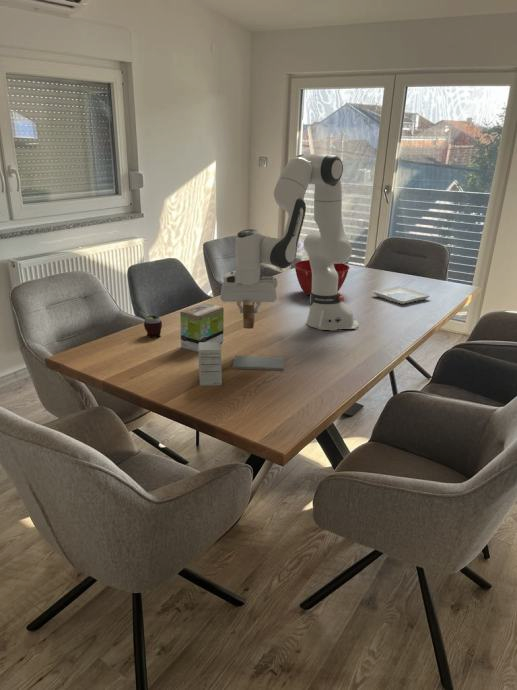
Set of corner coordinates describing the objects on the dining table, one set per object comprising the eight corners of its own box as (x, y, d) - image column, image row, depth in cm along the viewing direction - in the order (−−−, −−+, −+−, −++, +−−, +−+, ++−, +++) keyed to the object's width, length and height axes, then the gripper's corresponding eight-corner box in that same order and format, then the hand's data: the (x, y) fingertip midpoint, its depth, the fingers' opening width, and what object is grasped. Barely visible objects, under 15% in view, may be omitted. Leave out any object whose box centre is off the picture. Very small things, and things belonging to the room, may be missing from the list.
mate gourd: (141, 337, 214) (139, 301, 208) (152, 331, 220) (149, 296, 215) (157, 340, 211) (155, 304, 206) (167, 334, 218) (166, 298, 212)
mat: (284, 359, 194) (284, 357, 194) (283, 370, 185) (283, 368, 184) (235, 357, 195) (235, 355, 195) (232, 368, 186) (232, 366, 185)
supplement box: (199, 376, 179) (198, 341, 174) (221, 376, 180) (221, 341, 175) (199, 386, 172) (198, 349, 168) (222, 385, 173) (221, 349, 168)
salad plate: (430, 301, 270) (431, 294, 268) (402, 307, 258) (403, 300, 257) (398, 291, 286) (399, 285, 285) (370, 297, 274) (371, 290, 273)
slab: (254, 321, 200) (254, 295, 197) (253, 328, 193) (252, 302, 189) (245, 321, 201) (244, 295, 197) (243, 328, 193) (242, 302, 190)
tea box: (201, 353, 199) (200, 315, 193) (180, 348, 204) (178, 311, 198) (224, 341, 211) (224, 306, 205) (204, 336, 216) (203, 301, 210)
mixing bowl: (356, 292, 281) (358, 264, 276) (333, 305, 259) (335, 274, 253) (308, 284, 295) (309, 257, 290) (283, 296, 273) (283, 266, 267)
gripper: (277, 274, 192) (277, 310, 197) (221, 273, 193) (222, 309, 199) (276, 278, 186) (276, 315, 192) (219, 278, 188) (220, 315, 193)
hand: (248, 312), depth 195 cm, fingers closed on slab, 3 cm apart
